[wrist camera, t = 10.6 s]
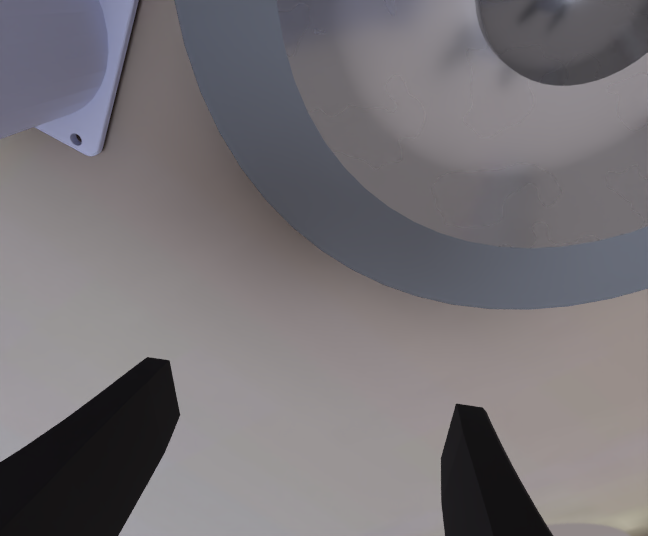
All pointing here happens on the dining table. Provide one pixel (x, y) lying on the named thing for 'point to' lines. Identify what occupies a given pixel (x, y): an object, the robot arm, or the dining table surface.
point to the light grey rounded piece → (484, 111)
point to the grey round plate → (357, 202)
